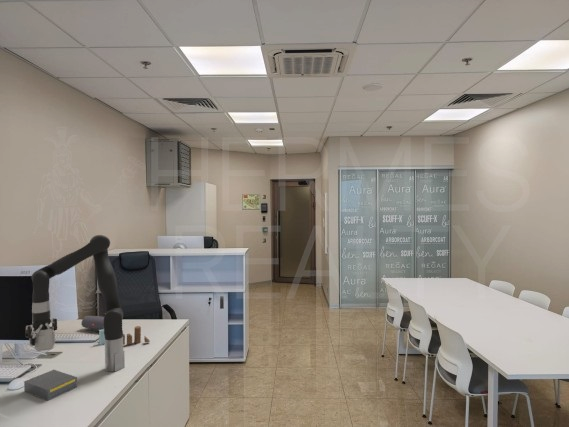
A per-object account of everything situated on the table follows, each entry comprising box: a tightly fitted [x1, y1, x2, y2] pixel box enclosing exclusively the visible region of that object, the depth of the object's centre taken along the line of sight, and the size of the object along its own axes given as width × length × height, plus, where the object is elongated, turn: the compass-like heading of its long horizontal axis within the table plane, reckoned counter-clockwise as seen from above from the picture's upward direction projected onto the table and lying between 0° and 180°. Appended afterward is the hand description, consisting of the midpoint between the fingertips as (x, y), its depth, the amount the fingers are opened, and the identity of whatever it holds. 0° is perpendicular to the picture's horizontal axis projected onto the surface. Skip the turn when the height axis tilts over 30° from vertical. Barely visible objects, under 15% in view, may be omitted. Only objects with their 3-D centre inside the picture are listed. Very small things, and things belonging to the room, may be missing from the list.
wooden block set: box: [123, 325, 150, 346], centre depth 231 cm, size 18×9×10 cm, turn 118°
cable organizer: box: [28, 326, 56, 352], centre depth 178 cm, size 6×11×11 cm, turn 95°
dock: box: [23, 369, 78, 402], centre depth 174 cm, size 19×14×5 cm
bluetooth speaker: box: [81, 315, 104, 332], centre depth 260 cm, size 23×9×10 cm, turn 73°
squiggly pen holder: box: [98, 329, 105, 346], centre depth 241 cm, size 18×10×9 cm, turn 17°
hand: (42, 342), depth 178 cm, fingers closed on cable organizer, 7 cm apart
